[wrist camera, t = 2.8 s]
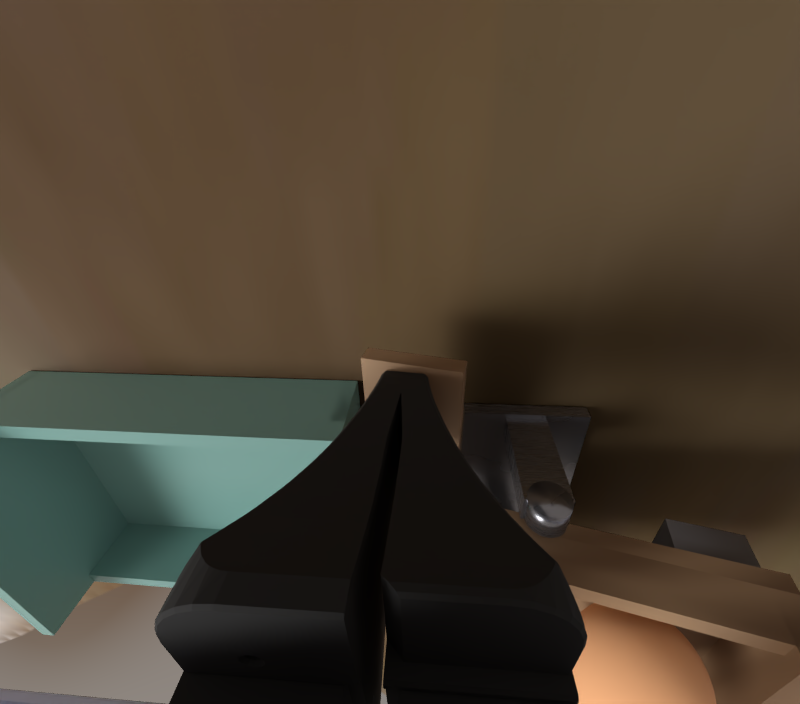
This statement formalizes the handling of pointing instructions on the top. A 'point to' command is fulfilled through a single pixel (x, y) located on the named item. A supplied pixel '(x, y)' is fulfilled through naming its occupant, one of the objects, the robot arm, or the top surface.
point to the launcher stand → (527, 458)
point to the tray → (141, 473)
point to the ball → (638, 662)
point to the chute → (660, 572)
